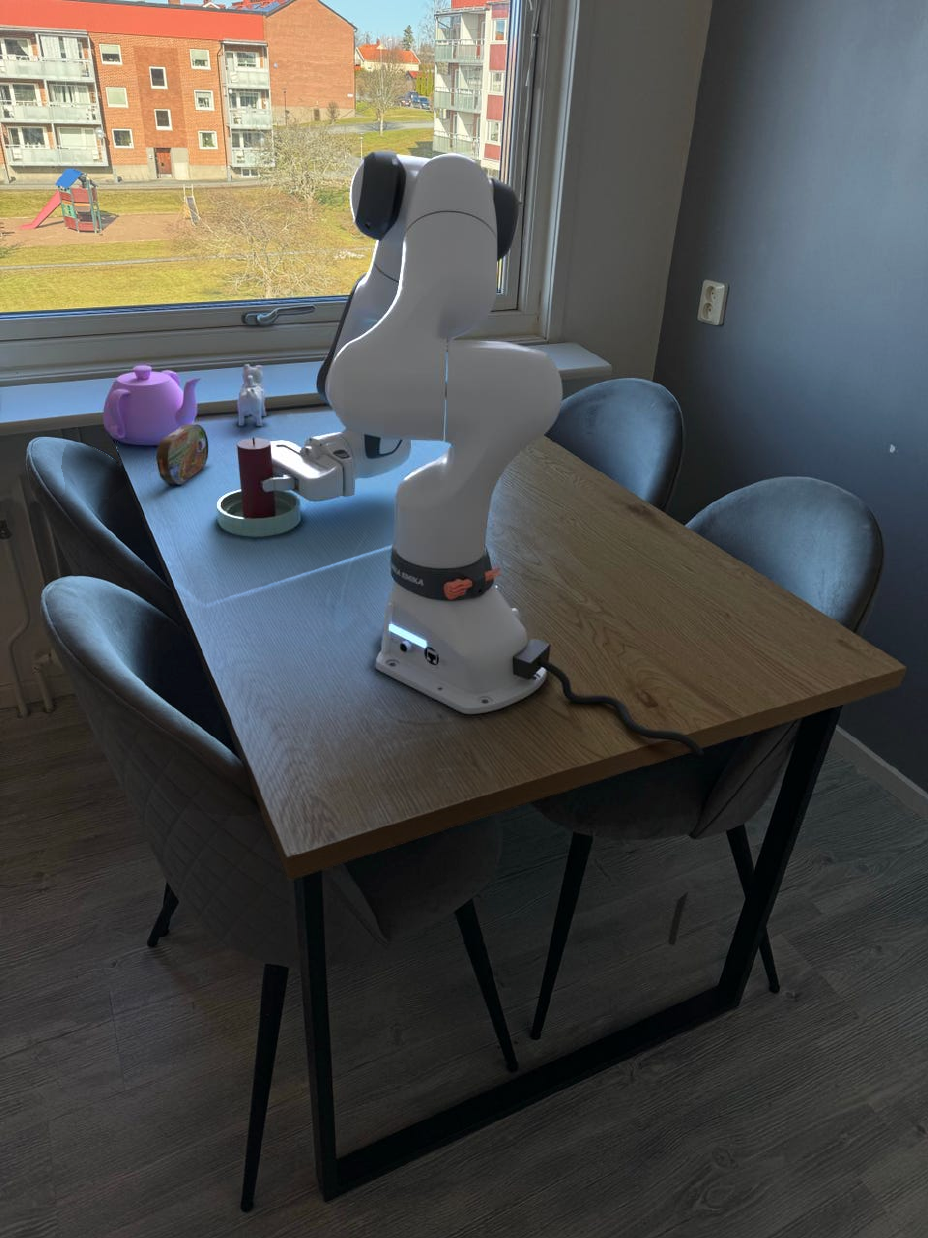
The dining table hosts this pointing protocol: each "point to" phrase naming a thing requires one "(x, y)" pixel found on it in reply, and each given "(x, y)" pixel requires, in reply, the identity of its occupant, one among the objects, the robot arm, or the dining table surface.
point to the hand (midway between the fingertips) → (251, 479)
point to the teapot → (148, 406)
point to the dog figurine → (251, 395)
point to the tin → (182, 454)
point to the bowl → (236, 524)
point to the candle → (255, 477)
